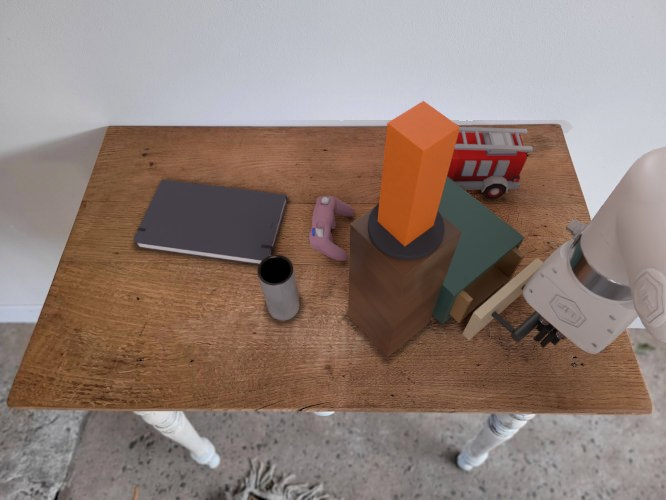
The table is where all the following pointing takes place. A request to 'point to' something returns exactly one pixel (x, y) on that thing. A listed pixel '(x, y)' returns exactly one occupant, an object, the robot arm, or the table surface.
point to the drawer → (496, 296)
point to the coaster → (414, 249)
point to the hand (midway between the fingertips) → (545, 336)
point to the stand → (394, 286)
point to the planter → (279, 286)
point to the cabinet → (471, 243)
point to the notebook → (212, 221)
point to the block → (415, 170)
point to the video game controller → (328, 226)
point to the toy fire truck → (488, 159)
